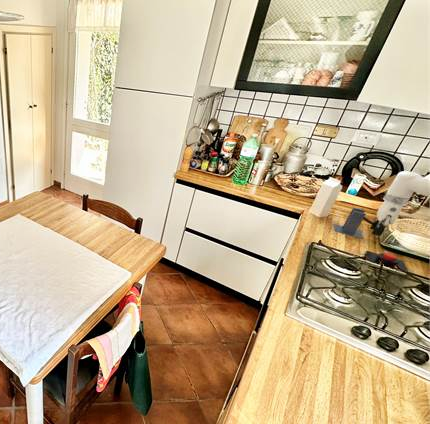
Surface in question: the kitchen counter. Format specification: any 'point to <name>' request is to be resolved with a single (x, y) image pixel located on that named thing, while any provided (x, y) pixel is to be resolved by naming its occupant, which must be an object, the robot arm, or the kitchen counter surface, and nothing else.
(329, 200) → the milk
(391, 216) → the robot arm
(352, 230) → the bracket
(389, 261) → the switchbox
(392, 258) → the button
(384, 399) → the kitchen counter surface
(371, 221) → the lever
